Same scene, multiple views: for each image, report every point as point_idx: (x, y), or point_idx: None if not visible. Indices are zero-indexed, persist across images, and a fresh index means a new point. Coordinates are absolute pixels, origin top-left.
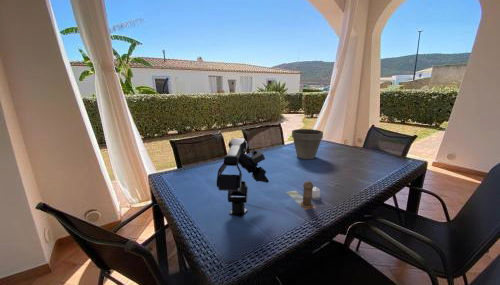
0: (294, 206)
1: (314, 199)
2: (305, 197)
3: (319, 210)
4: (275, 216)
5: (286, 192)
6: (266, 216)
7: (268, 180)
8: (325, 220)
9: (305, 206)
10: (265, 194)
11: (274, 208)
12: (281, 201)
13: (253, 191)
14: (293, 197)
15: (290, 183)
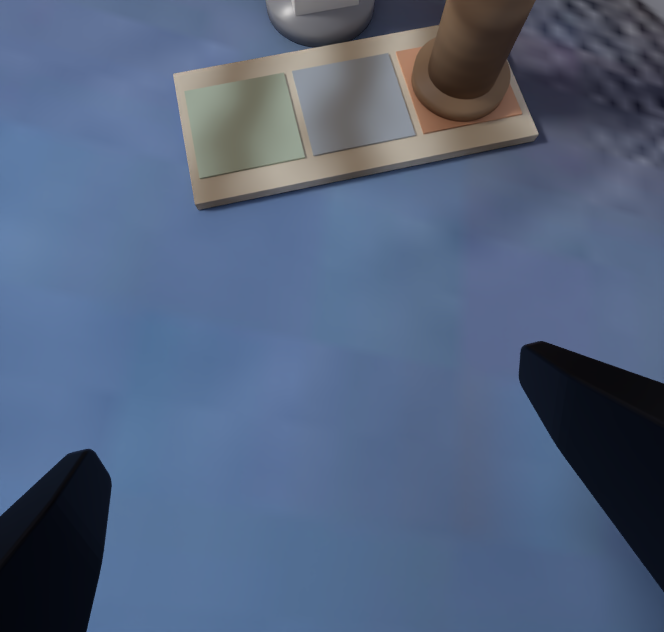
0: (445, 175)
1: (373, 3)
2: (522, 21)
3: None
4: None
5: (208, 175)
6: None
7: (569, 351)
8: (634, 36)
9: (503, 92)
10: (187, 387)
11: (473, 348)
12: (352, 259)
13: None
14: (315, 141)
15: (11, 98)
